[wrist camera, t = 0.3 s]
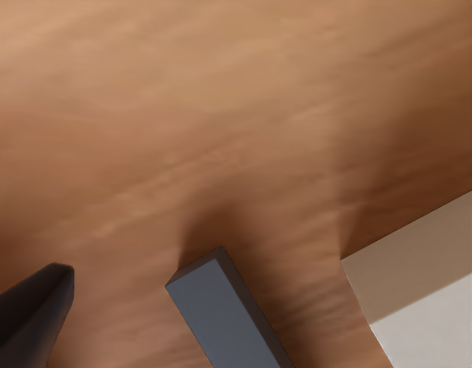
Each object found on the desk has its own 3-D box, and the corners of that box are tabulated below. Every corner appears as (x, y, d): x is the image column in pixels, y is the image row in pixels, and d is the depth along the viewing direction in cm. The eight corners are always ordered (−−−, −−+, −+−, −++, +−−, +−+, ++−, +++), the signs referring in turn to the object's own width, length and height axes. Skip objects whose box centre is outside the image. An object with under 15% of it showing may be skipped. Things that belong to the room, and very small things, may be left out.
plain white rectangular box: (533, 235, 22) (674, 289, 14) (372, 316, 23) (417, 408, 15) (499, 174, 22) (622, 196, 14) (339, 260, 23) (367, 324, 15)
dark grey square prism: (324, 415, 24) (328, 447, 22) (276, 438, 25) (276, 472, 22) (222, 244, 24) (215, 257, 21) (176, 271, 24) (164, 286, 22)
